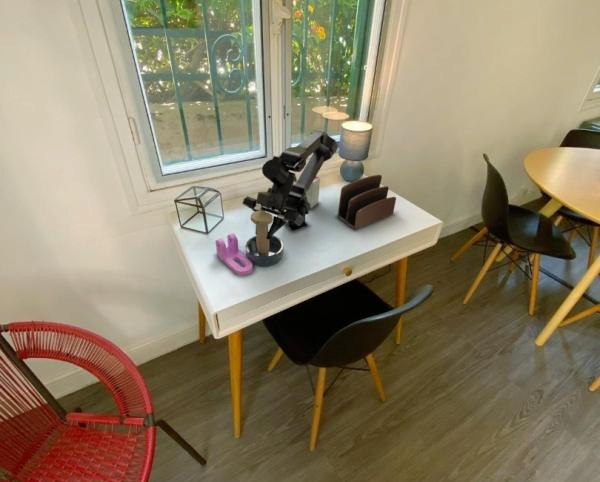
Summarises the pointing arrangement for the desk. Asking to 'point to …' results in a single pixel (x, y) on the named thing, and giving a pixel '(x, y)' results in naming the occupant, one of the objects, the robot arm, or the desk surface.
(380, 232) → the desk surface
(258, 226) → the handle
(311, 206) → the supplement box
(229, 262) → the bracket
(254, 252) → the dark grey ring
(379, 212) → the letter holder
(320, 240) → the desk surface
